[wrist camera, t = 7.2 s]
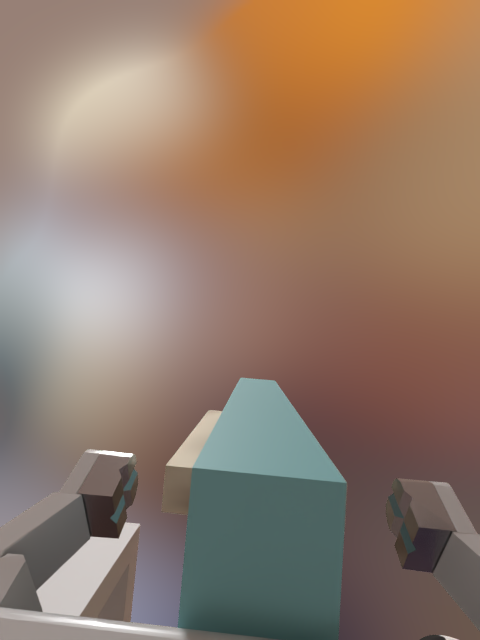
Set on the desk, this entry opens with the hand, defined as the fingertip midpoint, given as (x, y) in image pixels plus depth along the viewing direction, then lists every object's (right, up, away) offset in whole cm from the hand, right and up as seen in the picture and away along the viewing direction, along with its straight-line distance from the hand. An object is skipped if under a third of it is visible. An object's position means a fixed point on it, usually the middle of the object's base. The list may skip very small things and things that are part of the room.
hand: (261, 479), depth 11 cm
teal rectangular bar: (0, -2, +7) cm, 8 cm away
